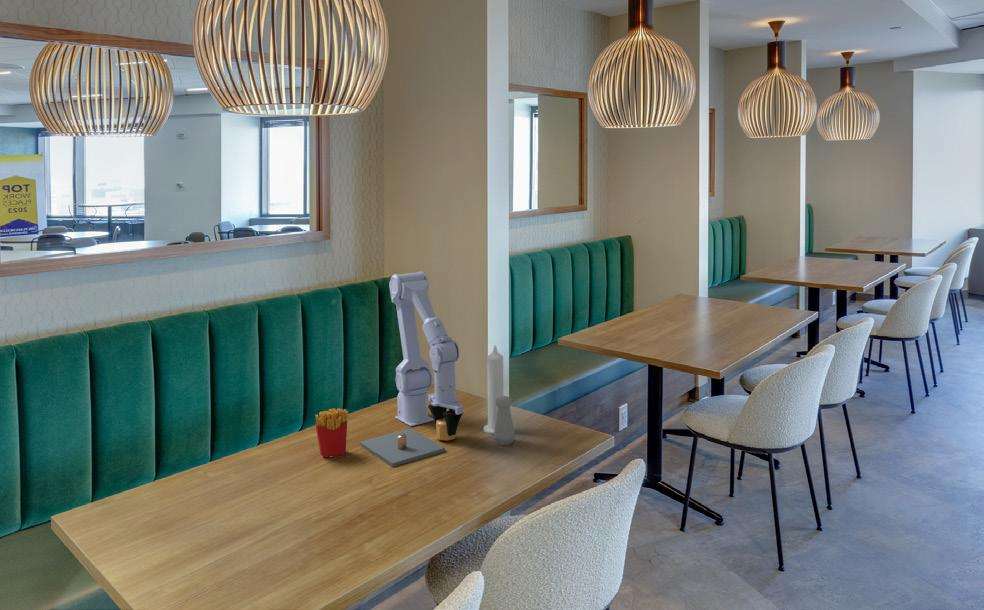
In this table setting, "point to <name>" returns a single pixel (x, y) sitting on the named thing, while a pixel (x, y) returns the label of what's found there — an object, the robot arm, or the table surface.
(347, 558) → the table surface
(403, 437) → the copper pin
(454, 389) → the robot arm
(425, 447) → the board
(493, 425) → the candle
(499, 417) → the salt shaker
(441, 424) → the cap
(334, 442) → the french fries
